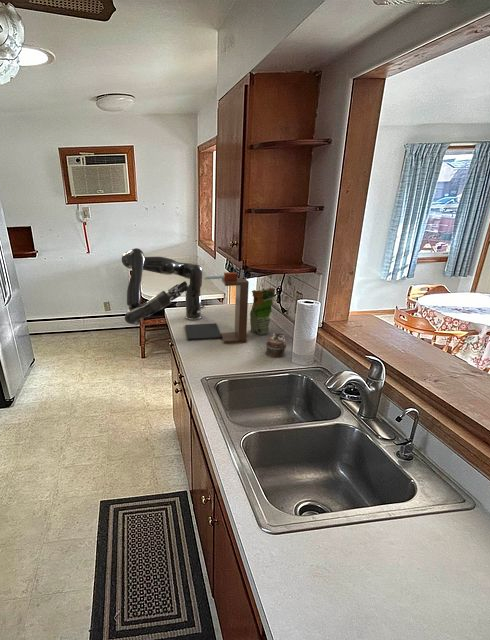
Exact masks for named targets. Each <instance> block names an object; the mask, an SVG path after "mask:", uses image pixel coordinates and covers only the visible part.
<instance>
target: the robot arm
mask: <svg viewBox="0 0 490 640" xmlns="http://www.w3.org/2000/svg"><path fill="white" fill-rule="evenodd" d="M121 263H122V265H123V266H124V267H125V268H127V269H130V270H131V275H130V279H129V282H128V285H127V289H126V305H127V307H128V310H127V312H126V313H125V314H124V320H125V323H127V324H129V325H130V326H131V325H132V326H139V325H140V324H141V323H142V321H143V318H147V317H151V316H152V315H153V314H155V313H157V312H159V311H161V310H163V309H165V308H166V307H167V306H169V305H171V304H172V301H174V300H176V299H178V298H179V297H181V296H182V294H183V293H185V318H186V320H189V321H196V320H200V319H202V309H203V308H205V305H204V304H203V303H202V297H201V295H202V293H201V291H202V290H201V289H202V285H203V269H202V267H201V265H200V264H195V263H189V262H179V261H177V260H174V259H173V258H169V257H166V256H158V255H157V256H155V255H154V256H145V253H144V252H143V250H142V249H141V248H138V247H137V248H136V247H135V248H132V249H130V250H128V251H126V252H125V253H123V254H122V256H121ZM144 271H146V272H152V273H155V274H160V275H165V276H174V275H175V276H179V277H182V278H184V279H187V280H189V284H188V283H187V281H186V280H185V281H183V282H181V283H179V284H176V285H174V286H172V287H170V288H169V289H168V290H167V291H168V292H166V291H165V290H162V291H161V292H159V293H157V294H155V295H154V296H153V297H151V298H149V300H147V301H146V302H144V303H142V304H141V288H142V287H141V286H142V280H143V272H144Z"/></svg>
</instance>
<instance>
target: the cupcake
mask: <svg viewBox="0 0 490 640" xmlns="http://www.w3.org/2000/svg"><path fill="white" fill-rule="evenodd" d="M286 341H287V340H286V339H285V334H283V333H276V332H274V333H272V335H271V336H270V337H269V338H268V339H267V342H266V343H265V348H266V354H267V356H269V357H272V358H281V357H283V356H284V354H285V350H286V348H287V342H286Z"/></svg>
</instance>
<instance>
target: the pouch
mask: <svg viewBox="0 0 490 640" xmlns="http://www.w3.org/2000/svg"><path fill="white" fill-rule="evenodd" d="M275 291H276V288H274V287H269V288H266V289H265V288H264V287H263V288H262V289H261V290H260V289H259V290H255V289H253V290H251V293H252V297H253V300H252V301H253V302H252V305H251V309H250V314H249V317H250V318H249V320H250V321H249V323H250V332H253V333H257V334H258V335H259V336H262V335H263V336H265V335H268V333H269V330H270V322H271V318H270V317H271V313H272V312H273V309H272V306H273V305H274V298H275V294H276V292H275Z"/></svg>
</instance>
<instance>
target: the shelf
mask: <svg viewBox="0 0 490 640" xmlns="http://www.w3.org/2000/svg"><path fill="white" fill-rule="evenodd" d="M238 277H239V276H237V280H235V281H225V280H224V278H223V279H221V282H222V284H223V285H224V287H235V300H234V301H235V302H234V303H235V306H234V307H235V308H234V310H235V311H234V331H232V332H229V331H227V332H220V335H221V339H222V341H223V344H243V343H247V329H248V309H249V307H248V305H249V304H248V303H249V284H250V282H249V280H248V279H247V278H246V277H245V279H241V278H238Z"/></svg>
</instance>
